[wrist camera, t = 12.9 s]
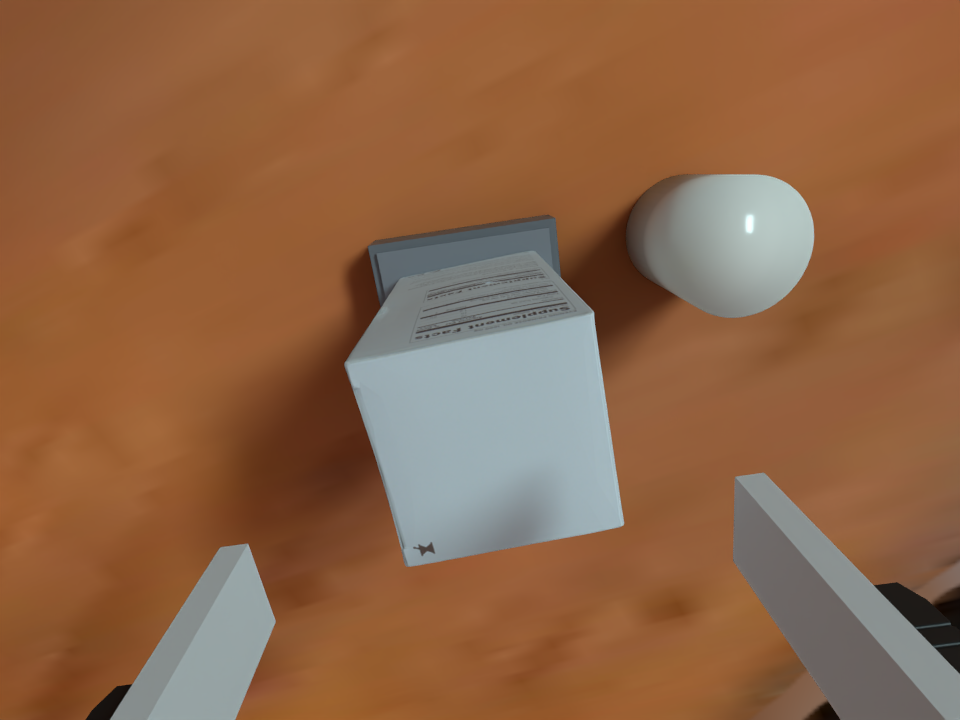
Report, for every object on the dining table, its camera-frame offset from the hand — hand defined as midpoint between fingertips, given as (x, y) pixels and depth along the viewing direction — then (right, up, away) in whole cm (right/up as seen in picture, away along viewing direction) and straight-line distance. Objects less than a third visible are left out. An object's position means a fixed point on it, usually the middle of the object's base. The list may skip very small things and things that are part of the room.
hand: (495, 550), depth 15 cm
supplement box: (0, +7, +22) cm, 23 cm away
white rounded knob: (+13, +14, +23) cm, 30 cm away
